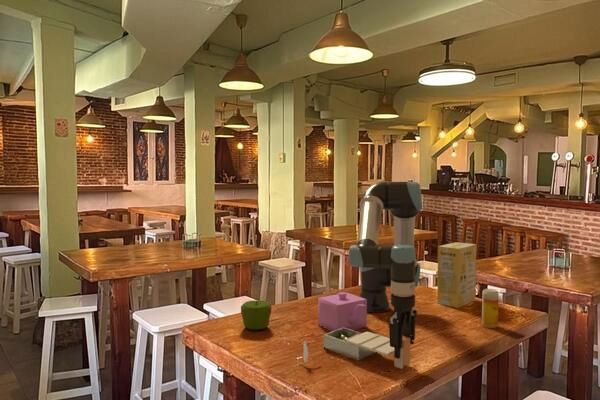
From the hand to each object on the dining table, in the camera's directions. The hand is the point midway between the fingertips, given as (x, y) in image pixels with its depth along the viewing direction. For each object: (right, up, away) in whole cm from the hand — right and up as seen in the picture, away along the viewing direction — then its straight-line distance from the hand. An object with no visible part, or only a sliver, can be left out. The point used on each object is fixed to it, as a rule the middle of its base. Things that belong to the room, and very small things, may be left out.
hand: (402, 365), depth 143 cm
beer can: (+45, +1, +40) cm, 60 cm away
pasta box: (+44, +3, +75) cm, 87 cm away
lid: (-6, +1, +6) cm, 9 cm away
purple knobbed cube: (-15, +1, +40) cm, 42 cm away
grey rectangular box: (-15, 0, +15) cm, 21 cm away
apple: (-51, +1, +39) cm, 64 cm away
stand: (-30, -1, +3) cm, 30 cm away
